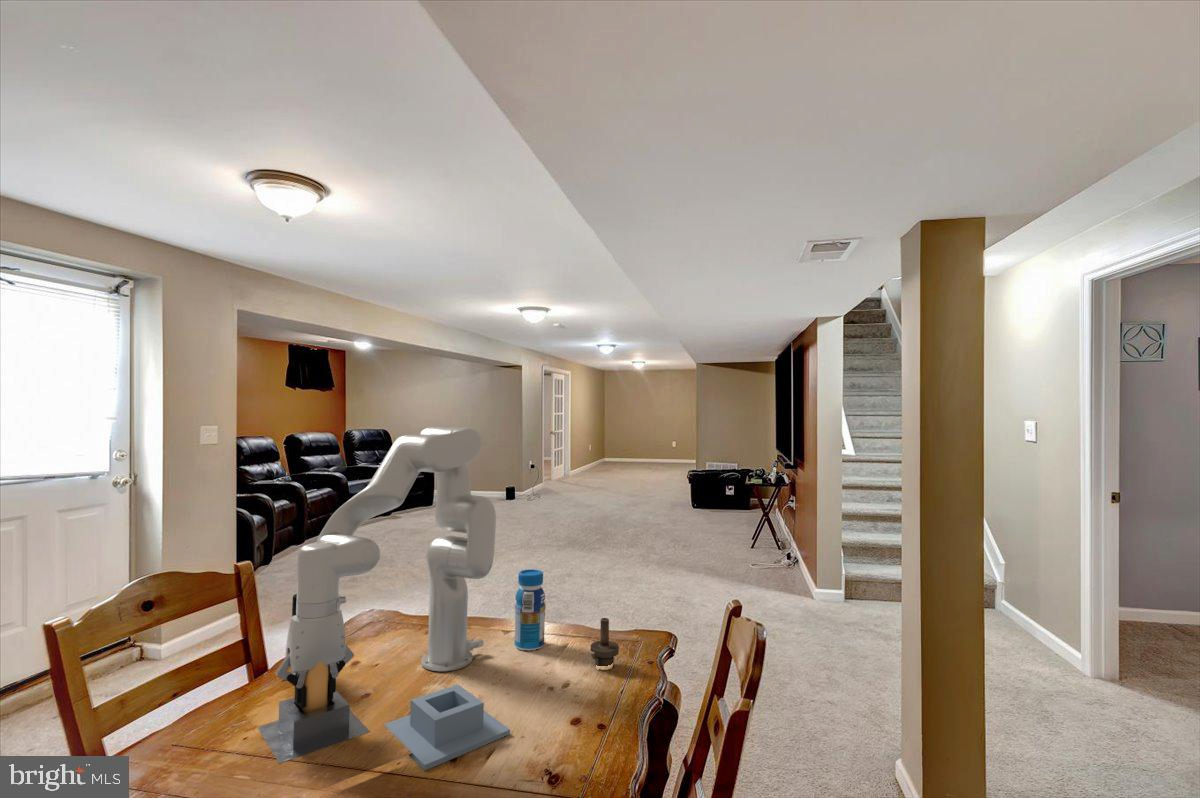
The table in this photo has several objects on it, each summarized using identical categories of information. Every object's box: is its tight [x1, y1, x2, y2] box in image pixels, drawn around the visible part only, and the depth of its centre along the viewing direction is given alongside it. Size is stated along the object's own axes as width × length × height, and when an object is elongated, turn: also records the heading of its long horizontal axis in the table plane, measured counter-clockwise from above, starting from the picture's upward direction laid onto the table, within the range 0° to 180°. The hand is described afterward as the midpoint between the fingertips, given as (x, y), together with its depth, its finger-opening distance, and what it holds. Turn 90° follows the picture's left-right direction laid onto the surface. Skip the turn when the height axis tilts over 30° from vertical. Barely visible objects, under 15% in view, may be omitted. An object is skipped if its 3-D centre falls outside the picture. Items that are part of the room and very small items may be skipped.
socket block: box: [383, 684, 511, 772], centre depth 116 cm, size 18×18×6 cm
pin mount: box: [257, 690, 371, 765], centre depth 115 cm, size 16×16×6 cm
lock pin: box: [302, 661, 328, 714], centre depth 115 cm, size 4×4×14 cm
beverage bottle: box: [513, 568, 547, 651], centre depth 160 cm, size 8×8×20 cm
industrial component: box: [589, 617, 620, 667], centre depth 147 cm, size 9×7×12 cm
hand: (315, 700), depth 115 cm, fingers closed on lock pin, 4 cm apart
